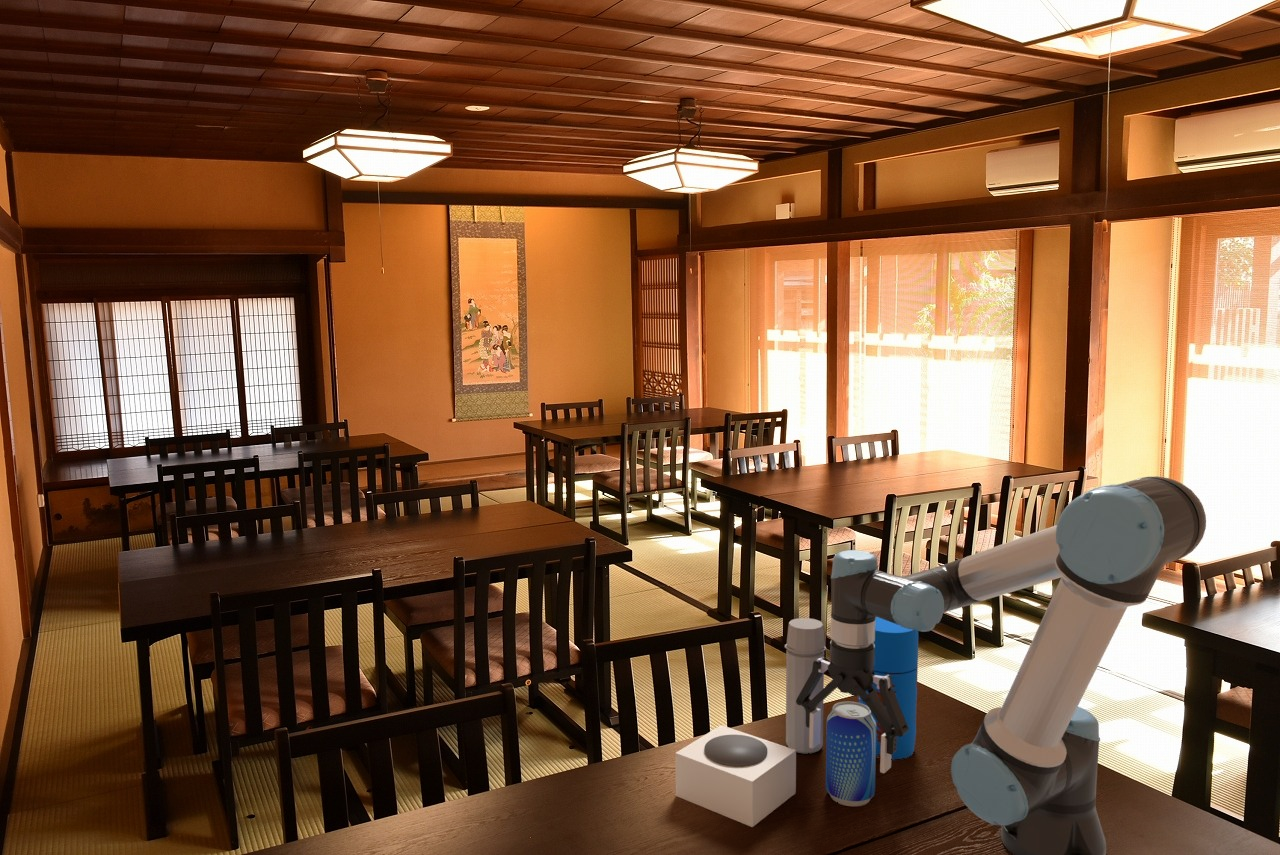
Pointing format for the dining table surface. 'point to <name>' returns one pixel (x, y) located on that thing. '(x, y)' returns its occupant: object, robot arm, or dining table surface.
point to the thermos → (897, 678)
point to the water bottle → (802, 679)
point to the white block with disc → (736, 774)
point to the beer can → (850, 754)
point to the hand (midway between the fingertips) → (849, 757)
